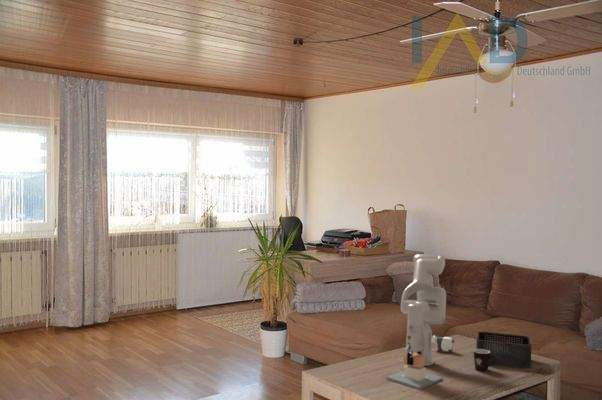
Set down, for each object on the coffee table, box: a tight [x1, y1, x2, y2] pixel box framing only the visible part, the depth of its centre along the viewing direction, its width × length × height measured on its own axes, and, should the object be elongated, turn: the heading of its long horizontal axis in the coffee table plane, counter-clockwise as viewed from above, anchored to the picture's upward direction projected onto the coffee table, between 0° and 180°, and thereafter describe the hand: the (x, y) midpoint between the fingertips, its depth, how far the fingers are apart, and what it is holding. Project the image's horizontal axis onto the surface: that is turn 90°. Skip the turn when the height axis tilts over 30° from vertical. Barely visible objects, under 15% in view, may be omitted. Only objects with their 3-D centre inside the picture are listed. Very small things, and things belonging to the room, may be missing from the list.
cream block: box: [403, 365, 427, 380], centre depth 290 cm, size 9×6×5 cm, turn 46°
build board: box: [385, 369, 444, 390], centre depth 290 cm, size 20×20×1 cm
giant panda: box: [432, 334, 455, 355], centre depth 339 cm, size 15×6×10 cm, turn 66°
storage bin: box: [475, 331, 533, 369], centre depth 321 cm, size 29×19×13 cm
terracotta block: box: [403, 352, 425, 368], centre depth 290 cm, size 9×6×5 cm, turn 61°
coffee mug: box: [473, 349, 496, 373], centre depth 304 cm, size 12×9×10 cm
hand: (414, 362), depth 290 cm, fingers closed on terracotta block, 7 cm apart
